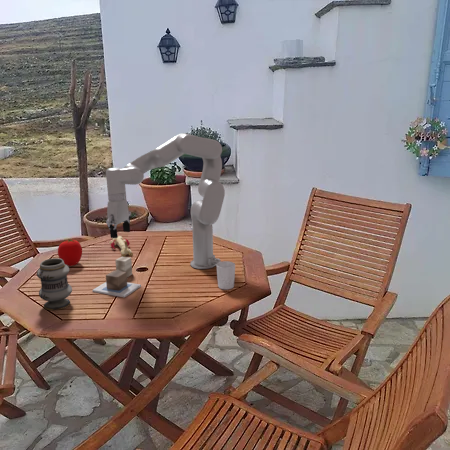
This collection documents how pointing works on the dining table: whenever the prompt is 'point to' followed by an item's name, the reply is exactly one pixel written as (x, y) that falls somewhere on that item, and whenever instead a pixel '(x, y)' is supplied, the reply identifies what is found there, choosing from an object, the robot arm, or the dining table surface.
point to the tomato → (70, 252)
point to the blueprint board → (121, 293)
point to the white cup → (225, 274)
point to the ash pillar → (124, 265)
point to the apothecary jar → (54, 283)
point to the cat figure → (121, 245)
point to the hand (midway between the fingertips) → (120, 234)
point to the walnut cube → (116, 280)
